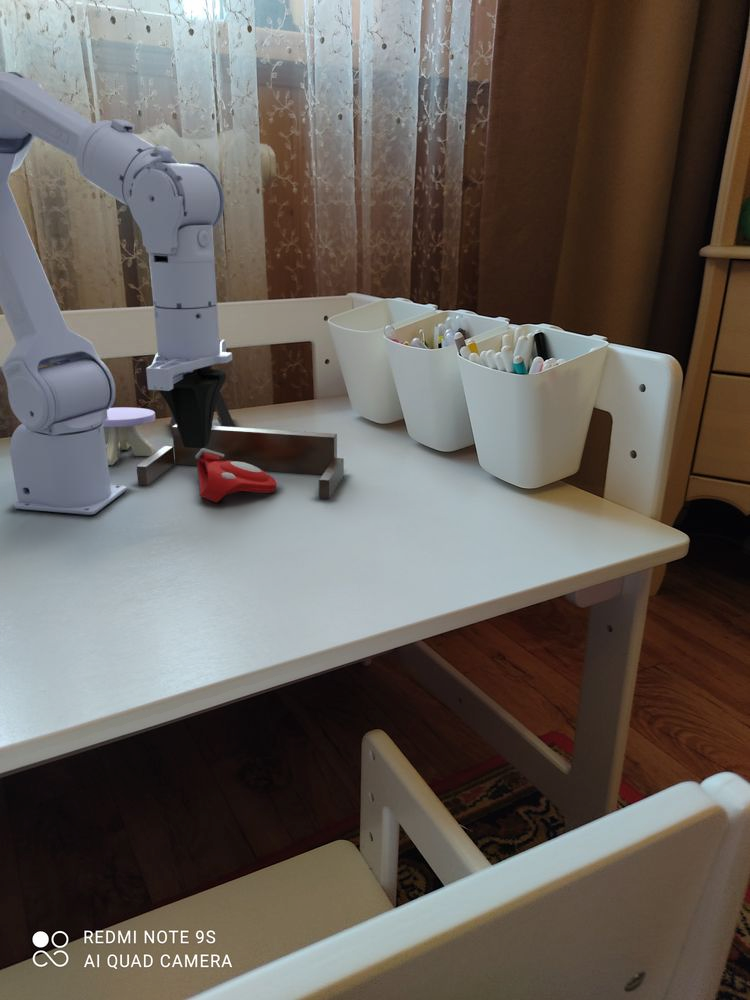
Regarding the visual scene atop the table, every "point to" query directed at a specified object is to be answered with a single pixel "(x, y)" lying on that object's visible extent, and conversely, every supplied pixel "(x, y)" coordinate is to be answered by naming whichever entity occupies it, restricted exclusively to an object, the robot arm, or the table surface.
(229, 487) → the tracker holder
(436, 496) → the table surface
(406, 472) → the table surface
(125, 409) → the toy table
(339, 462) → the footed wooden plank
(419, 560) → the table surface
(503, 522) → the table surface
